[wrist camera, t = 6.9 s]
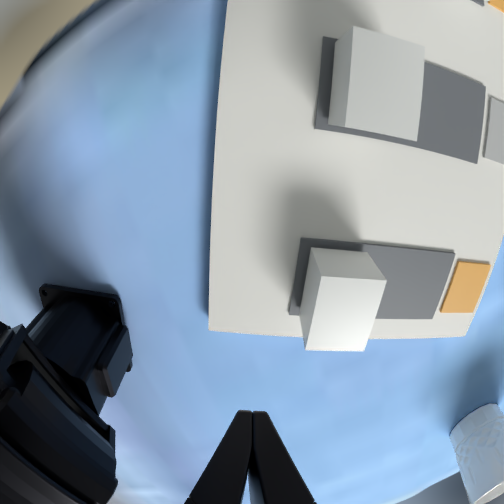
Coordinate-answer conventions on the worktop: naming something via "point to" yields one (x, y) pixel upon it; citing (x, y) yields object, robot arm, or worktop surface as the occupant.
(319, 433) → the worktop surface
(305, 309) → the block
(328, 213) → the switch unit
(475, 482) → the white cup
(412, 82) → the middle slider
